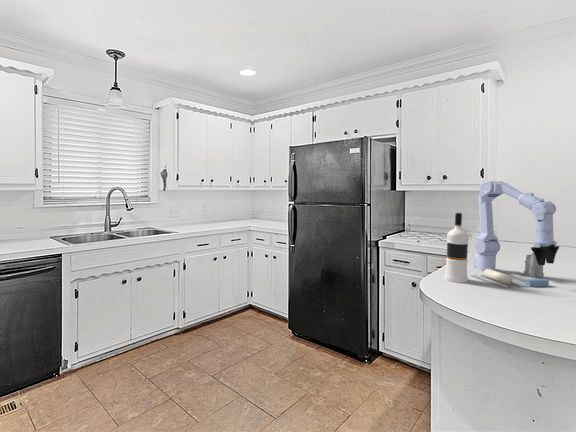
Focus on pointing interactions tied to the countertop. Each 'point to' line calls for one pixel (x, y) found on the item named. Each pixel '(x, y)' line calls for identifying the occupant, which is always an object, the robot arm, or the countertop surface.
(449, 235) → the vodka
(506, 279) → the cream paper roll
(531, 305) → the countertop surface
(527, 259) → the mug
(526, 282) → the board
